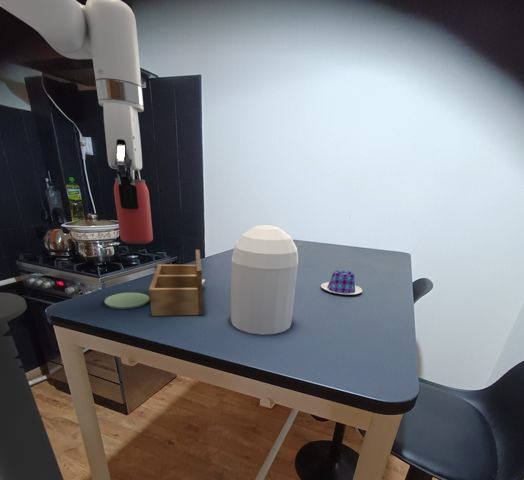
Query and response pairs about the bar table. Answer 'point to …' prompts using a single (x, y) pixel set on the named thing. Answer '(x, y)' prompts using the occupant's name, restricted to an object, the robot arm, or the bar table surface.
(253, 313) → the container
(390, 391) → the bar table surface
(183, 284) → the box
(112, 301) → the coaster
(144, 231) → the beer can
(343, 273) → the pudding
